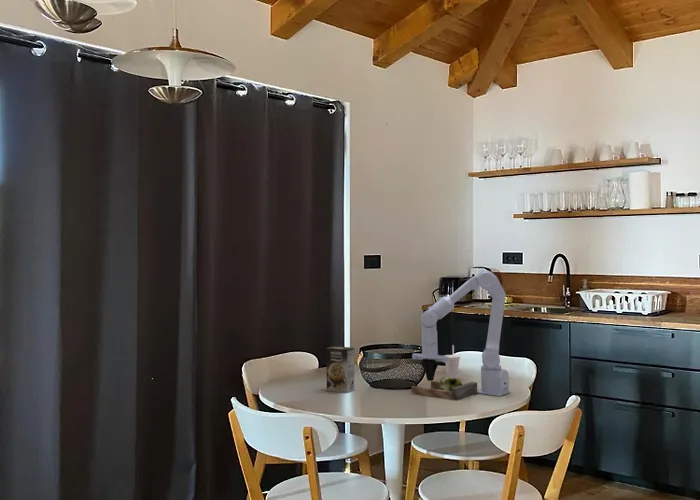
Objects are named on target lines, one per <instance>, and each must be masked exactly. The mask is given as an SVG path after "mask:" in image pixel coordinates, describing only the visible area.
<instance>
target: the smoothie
mask: <svg viewBox="0 0 700 500" xmlns="http://www.w3.org/2000/svg"><path fill="white" fill-rule="evenodd" d="M451 347H452V354H446V355H444V356H447V357H448V362H446V363H445V362H444V363H445V370H446V376H453V377H454V378H456V379H457V380H458V376H459V375H458V374H459V367H460V366H459V365H460V360H461V355H458V354H455V345H454V344H452V346H451Z"/></svg>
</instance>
